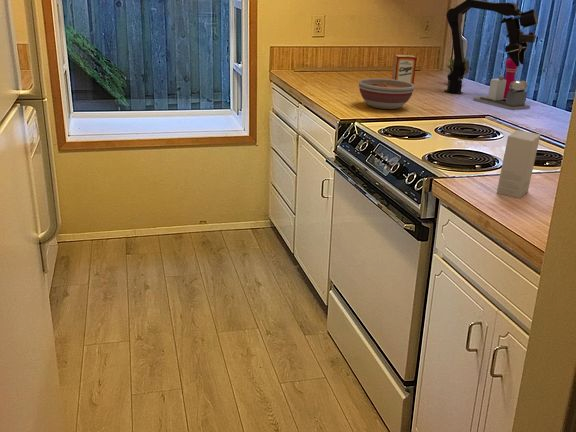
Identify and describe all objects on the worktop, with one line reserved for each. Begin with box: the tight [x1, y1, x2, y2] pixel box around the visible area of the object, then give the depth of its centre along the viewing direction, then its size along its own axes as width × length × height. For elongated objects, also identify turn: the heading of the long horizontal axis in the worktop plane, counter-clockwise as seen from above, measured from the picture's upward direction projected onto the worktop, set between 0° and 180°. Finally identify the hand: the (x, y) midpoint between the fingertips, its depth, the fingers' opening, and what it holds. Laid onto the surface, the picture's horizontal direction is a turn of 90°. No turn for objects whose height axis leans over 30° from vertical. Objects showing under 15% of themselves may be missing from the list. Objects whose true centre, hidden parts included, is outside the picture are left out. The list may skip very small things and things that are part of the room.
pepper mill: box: [503, 57, 519, 99], centre depth 295 cm, size 7×7×20 cm
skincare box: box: [496, 129, 541, 199], centre depth 159 cm, size 8×7×16 cm
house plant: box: [446, 55, 470, 76], centre depth 321 cm, size 14×14×16 cm
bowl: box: [358, 78, 415, 110], centre depth 258 cm, size 23×23×10 cm
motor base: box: [472, 80, 531, 111], centre depth 278 cm, size 22×12×12 cm, turn 32°
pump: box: [487, 74, 506, 100], centre depth 280 cm, size 4×6×11 cm
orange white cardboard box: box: [391, 54, 418, 85], centre depth 303 cm, size 10×6×16 cm
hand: (520, 65), depth 282 cm, fingers open, 9 cm apart
